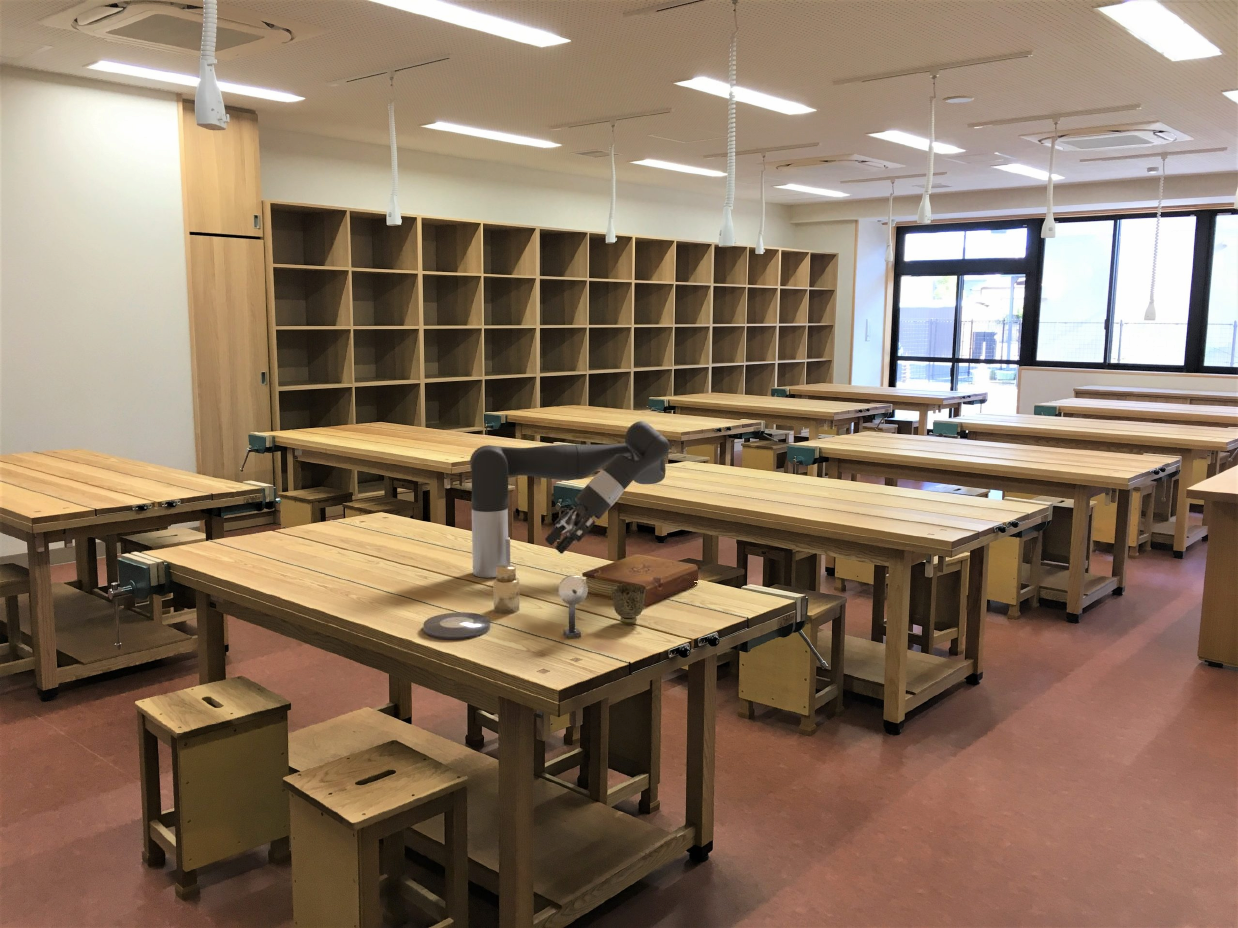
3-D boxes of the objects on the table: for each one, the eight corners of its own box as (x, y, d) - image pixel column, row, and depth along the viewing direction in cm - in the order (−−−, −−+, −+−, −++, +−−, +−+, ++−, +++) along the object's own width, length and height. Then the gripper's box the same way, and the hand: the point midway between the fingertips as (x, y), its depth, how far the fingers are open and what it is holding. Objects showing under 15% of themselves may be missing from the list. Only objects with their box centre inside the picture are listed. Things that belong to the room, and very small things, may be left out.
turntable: (483, 616, 211) (482, 609, 211) (496, 635, 198) (496, 628, 198) (419, 622, 207) (419, 615, 206) (428, 642, 194) (428, 635, 193)
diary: (646, 609, 219) (646, 585, 218) (582, 596, 229) (582, 572, 228) (698, 586, 237) (698, 564, 236) (636, 574, 248) (636, 553, 247)
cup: (626, 615, 212) (626, 580, 211) (652, 622, 207) (652, 586, 206) (604, 623, 206) (604, 588, 205) (631, 630, 202) (631, 594, 200)
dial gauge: (583, 631, 201) (583, 572, 199) (589, 637, 197) (589, 576, 195) (556, 634, 199) (555, 574, 197) (561, 640, 195) (561, 579, 193)
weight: (516, 605, 220) (515, 563, 218) (522, 612, 214) (521, 569, 213) (491, 607, 218) (490, 565, 216) (496, 614, 212) (495, 571, 211)
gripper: (621, 510, 214) (572, 564, 212) (601, 499, 227) (555, 550, 225) (598, 489, 211) (549, 543, 209) (579, 479, 225) (533, 530, 223)
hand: (552, 546), depth 217 cm, fingers open, 8 cm apart
